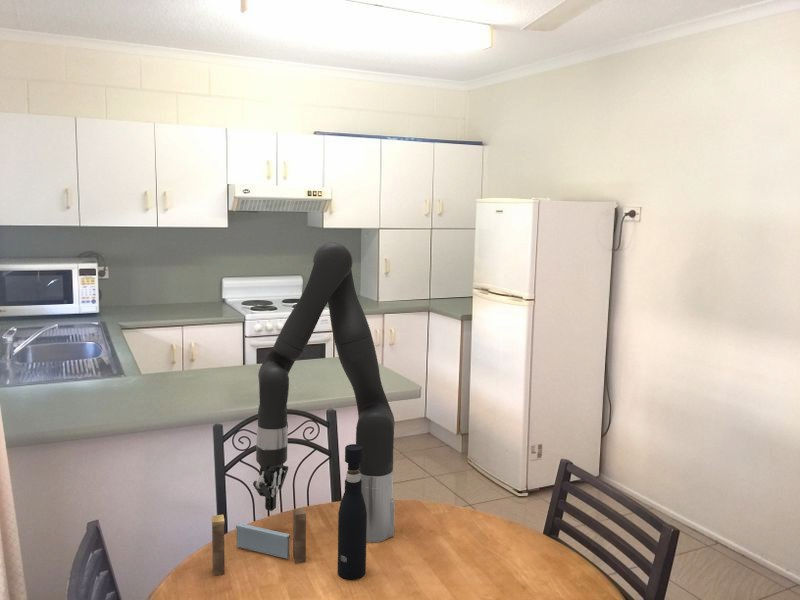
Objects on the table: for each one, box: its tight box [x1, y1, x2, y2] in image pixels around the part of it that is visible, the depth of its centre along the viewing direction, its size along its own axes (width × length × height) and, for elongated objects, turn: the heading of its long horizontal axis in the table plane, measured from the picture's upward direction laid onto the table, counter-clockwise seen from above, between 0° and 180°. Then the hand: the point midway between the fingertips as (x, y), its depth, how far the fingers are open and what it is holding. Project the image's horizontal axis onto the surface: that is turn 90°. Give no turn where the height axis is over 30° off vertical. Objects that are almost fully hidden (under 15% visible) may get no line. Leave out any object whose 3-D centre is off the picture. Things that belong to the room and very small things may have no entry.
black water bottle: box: [337, 443, 367, 581], centre depth 152 cm, size 6×6×30 cm
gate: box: [235, 522, 291, 560], centre depth 161 cm, size 14×1×6 cm, turn 69°
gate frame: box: [210, 507, 307, 577], centre depth 155 cm, size 21×3×13 cm, turn 109°
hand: (270, 509), depth 168 cm, fingers closed
